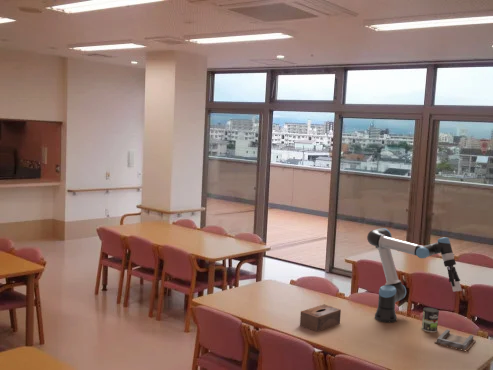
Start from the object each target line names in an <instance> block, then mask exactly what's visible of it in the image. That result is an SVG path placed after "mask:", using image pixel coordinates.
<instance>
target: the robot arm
mask: <svg viewBox="0 0 493 370" xmlns="http://www.w3.org/2000/svg"><path fill="white" fill-rule="evenodd" d="M366 239H367V242H368V243H369V244H370V245H371V246H373V247H375V249H376V250H378V253H379V257H380V262H381V265H382V270H383V273H384V276H385V280H386V282H385V283H384V285H382V286H380V287H379V290H378V301H377V302H378V303H377V309H376V312H375V314H374V319H375V320H376V321H379V322H381V323H395V322H397V319H398V318H397V313H396V310H395V309H396V303H398V302H399V301H403V299H404V298H405V297H406V295H407V289H406V286H405V285H403V283H402V281H401V280H400V279H399V277H398V276H399V275H398V273H397V270H396V265H395V262H394V257H393V255H392V250H395V251H398V252H402V253H406V254H410V255H413V256H417V258H419V259H426V258H429V257H432V256H433V255H434V256H435V255H438V254H441V259H442V261H443V265H444V267H445V268H446V269H447V274H448V282H449V283H450V286H451V287H452V292H462V291H463V289H462V286H461V283H460V282H461V279H460V277H459V275H458V272H457V269H456V265H457V262H456V260H455V253H454V252H453V249H452V248H453V247H452V244H451V241H450V238H449V237H447V236H446V237H445V236H444V237H441V238H437V242H433V243H430V244H425V245H420V244H417V243H412V242H409V241H404V240H401V239H398V238H394V237H392V233H391V232H390V230H389V229H387V228H385V227H384V228H383V227H382V228H381V227H379V228H376V229H372V230H370V231H369V232H368V233H367V236H366Z"/></svg>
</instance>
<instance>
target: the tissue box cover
mask: <svg viewBox="0 0 493 370" xmlns="http://www.w3.org/2000/svg"><path fill="white" fill-rule="evenodd" d="M341 313H342V311H341V308H337V307H333V306H331V305H328V304H320V305H317V306H314V307H310V308H308V309H304V310H301V311H300V317H299V325H300V326H301V327H303V328H306V329H308V330H312V331H314V332H316V333H317V332H319V331H323V330H325V329H327V328H330V327H334V326H337V325H339V324H340V323H341Z"/></svg>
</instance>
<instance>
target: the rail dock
mask: <svg viewBox="0 0 493 370" xmlns="http://www.w3.org/2000/svg"><path fill="white" fill-rule="evenodd" d="M474 342H475V343H476V339H474V335H472V334H470V335H469V336H467V337H465V336H462V335H457V334H453V333H451V330H450V329H448V328H446V329H445V330H444V331H443V333H441V334H440V335H439V336H438V338H437V339H436V340H435V341H434V344H436V345H440V346H443V345H444V346H443V347H447V346H448V347H447V348H451V347H452V348H451V349H454V348H457V349H456V350H458V349H462V350H466V351H467V350H468V349H469V348H470V347H471V348H472V346H473V345H474V344H475V343H474ZM473 343H474V344H473ZM472 344H473V345H472ZM471 345H472V346H471ZM471 348H470V349H471ZM470 349H469V350H470ZM462 350H461V351H462ZM469 350H468V351H469ZM466 351H465V352H466ZM468 351H467V352H468Z"/></svg>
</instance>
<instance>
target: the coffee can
mask: <svg viewBox="0 0 493 370" xmlns="http://www.w3.org/2000/svg"><path fill="white" fill-rule="evenodd" d="M439 313H440V310H438V309H437V308H435V307H429V306H428V307H423V308H422V319H421V321H422V322H421V330H423V331H424V332H427V333H436V332H438V325H439V323H438V322H439Z"/></svg>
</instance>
